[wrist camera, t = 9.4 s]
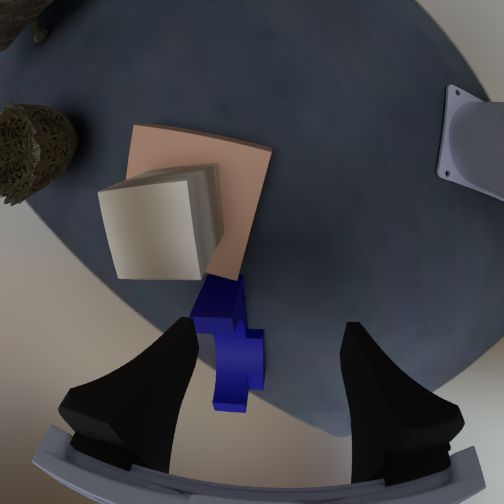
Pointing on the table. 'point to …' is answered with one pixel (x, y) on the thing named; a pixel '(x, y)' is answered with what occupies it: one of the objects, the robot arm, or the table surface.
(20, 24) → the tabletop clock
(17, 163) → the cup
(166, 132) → the terracotta block
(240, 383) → the blue stepped block
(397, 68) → the table surface
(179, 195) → the ivory block
